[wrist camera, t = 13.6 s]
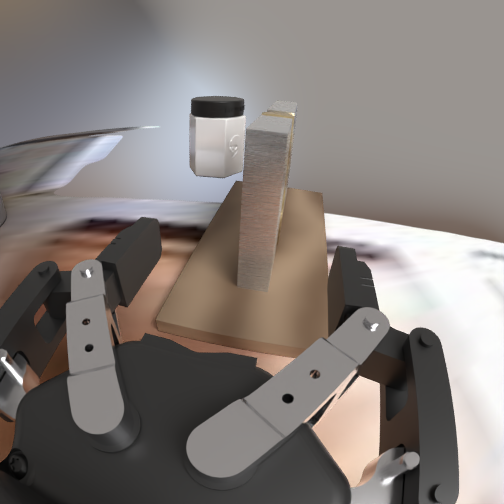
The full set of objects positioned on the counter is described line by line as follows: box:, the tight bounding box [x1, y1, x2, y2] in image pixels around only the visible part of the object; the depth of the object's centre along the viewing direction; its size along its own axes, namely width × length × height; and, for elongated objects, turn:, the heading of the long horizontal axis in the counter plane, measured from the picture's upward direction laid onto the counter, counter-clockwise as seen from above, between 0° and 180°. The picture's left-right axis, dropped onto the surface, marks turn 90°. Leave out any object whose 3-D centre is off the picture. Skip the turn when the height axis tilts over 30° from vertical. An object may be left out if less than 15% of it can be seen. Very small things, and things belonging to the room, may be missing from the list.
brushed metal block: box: [237, 112, 294, 292], centre depth 23 cm, size 8×3×12 cm, turn 170°
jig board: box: [156, 181, 328, 358], centre depth 30 cm, size 12×26×1 cm, turn 170°
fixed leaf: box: [267, 101, 298, 246], centre depth 30 cm, size 3×14×12 cm, turn 170°
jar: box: [189, 96, 246, 178], centre depth 44 cm, size 9×8×12 cm
